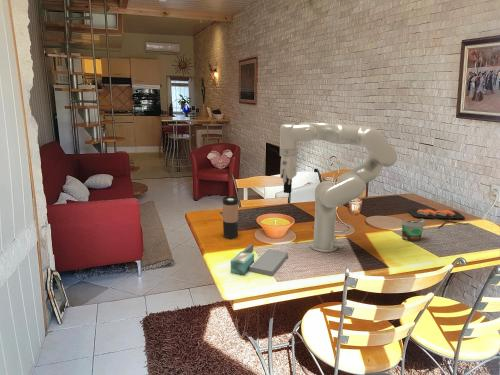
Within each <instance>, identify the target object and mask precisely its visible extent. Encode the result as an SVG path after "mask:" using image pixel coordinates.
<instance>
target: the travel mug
mask: <svg viewBox="0 0 500 375" xmlns="http://www.w3.org/2000/svg"><path fill="white" fill-rule="evenodd" d="M222 231H223V237H224V239H227V240H233V239H237V238H238V236H239V235H238V234H239V198H238V197H236V196H229V195H228V196H225V197H223V198H222Z"/></svg>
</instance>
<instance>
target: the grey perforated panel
mask: <svg viewBox="0 0 500 375" xmlns="http://www.w3.org/2000/svg"><path fill="white" fill-rule="evenodd" d="M253 251H254V243H250V244H249V245H248V246H247V247H246V248H244V250H242V252H247V253H252V252H253ZM288 257H289V252H288V251H282V250H275V249H271V248H266V249H265V250H264V251H263V252H262V253H261V254H260V255H259V256H258V257H257V258H256V259H254V263H253V264H252V265H251V266H250V267H249V271H248V272H250V273H255V274H260V275H266V276H270V277H273V276H274V274H275V273H276V272H277V271H278V270H279V268H280V267H281V266H282V265H283V264H284V262H285V261H286V260H287V258H288ZM277 269H278V270H277ZM272 275H273V276H272Z"/></svg>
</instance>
